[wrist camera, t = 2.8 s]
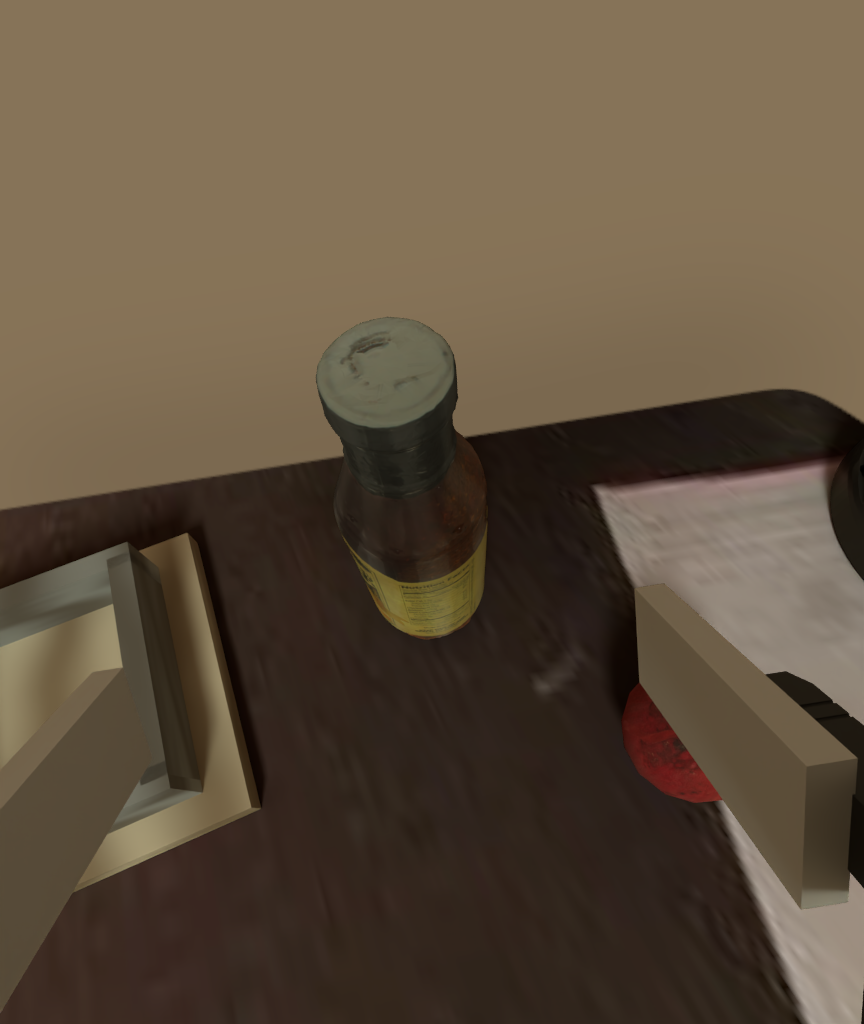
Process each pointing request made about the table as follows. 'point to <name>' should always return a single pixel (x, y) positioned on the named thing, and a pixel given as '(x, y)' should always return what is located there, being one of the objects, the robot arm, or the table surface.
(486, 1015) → the table surface
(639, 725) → the onion
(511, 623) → the table surface
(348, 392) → the sauce bottle
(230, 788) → the bottle holder
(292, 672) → the table surface
